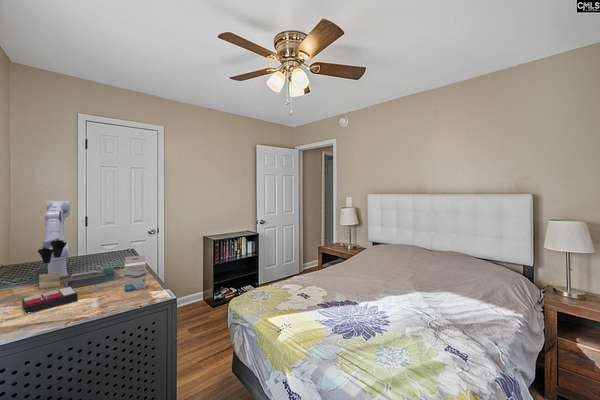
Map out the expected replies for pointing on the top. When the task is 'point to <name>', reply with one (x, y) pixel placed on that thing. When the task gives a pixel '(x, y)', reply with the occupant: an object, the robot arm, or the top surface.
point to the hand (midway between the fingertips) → (51, 260)
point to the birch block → (49, 280)
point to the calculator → (49, 299)
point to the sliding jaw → (95, 272)
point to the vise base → (90, 280)
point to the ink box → (135, 273)
